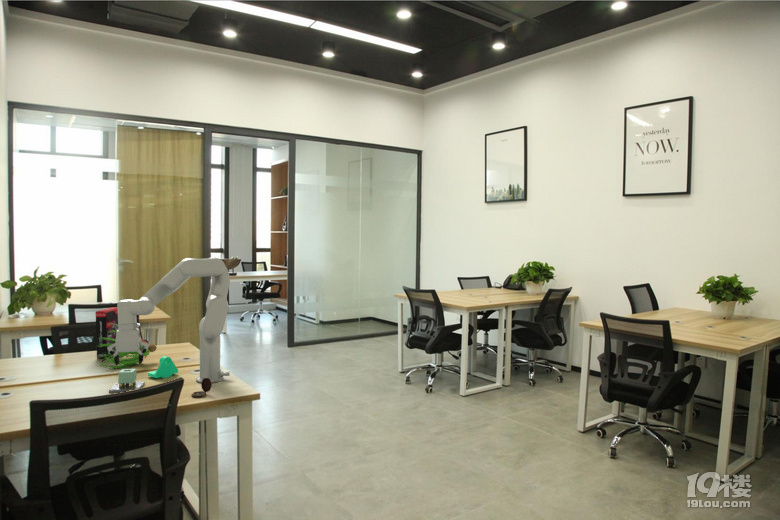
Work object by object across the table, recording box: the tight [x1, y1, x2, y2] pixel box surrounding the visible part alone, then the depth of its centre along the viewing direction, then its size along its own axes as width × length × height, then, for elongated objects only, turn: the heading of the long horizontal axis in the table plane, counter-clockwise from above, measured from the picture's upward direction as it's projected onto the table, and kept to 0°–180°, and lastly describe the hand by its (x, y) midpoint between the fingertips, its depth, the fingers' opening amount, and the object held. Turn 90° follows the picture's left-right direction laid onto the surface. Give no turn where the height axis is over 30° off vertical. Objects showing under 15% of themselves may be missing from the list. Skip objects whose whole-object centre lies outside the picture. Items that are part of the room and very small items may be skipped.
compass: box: [191, 378, 213, 399], centre depth 222 cm, size 8×8×7 cm
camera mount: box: [147, 355, 179, 379], centre depth 253 cm, size 12×8×10 cm, turn 149°
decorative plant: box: [95, 323, 158, 370], centre depth 271 cm, size 26×25×30 cm
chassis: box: [108, 379, 146, 394], centre depth 231 cm, size 12×12×7 cm
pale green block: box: [117, 368, 137, 384], centre depth 231 cm, size 6×6×5 cm
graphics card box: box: [95, 307, 118, 360], centre depth 294 cm, size 17×7×27 cm, turn 179°
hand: (129, 363), depth 231 cm, fingers open, 9 cm apart
